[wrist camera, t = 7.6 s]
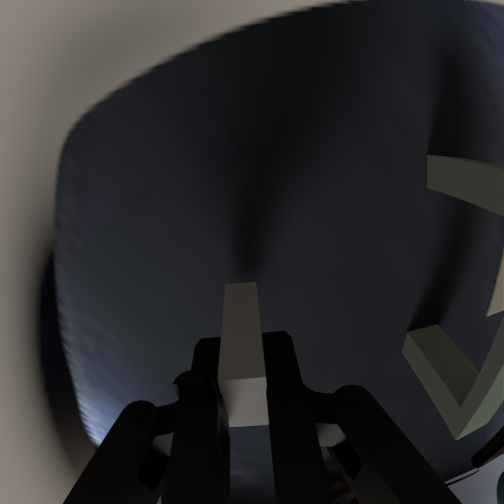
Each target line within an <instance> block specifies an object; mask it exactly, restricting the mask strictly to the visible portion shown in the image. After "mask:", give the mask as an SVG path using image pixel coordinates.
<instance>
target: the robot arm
mask: <svg viewBox="0 0 504 504" xmlns="http://www.w3.org/2000/svg"><path fill="white" fill-rule="evenodd" d="M173 385H174V388H175V390H176V393H177V395H178V398H179V400H178V401H176V402H175V403H172V404H168V405H164V406H160V407H155V405H154V404H153V403H151V402H149V401H143V400H139V401H134V402H132V403H130V404H128V405H127V406H126V407H125V408H124V409H123V411H122V412H121V414H120V415H119V417H118V418H117V420H116V421H115V423H114V424H113V426H112V427H111V429H110V430H109V432H108V434H107V435H106V437H105V438H104V440H103V441H102V443H101V444H100V446H99V447H98V449H97V450H96V452H95V454H94V455H93V457H92V458H91V460H90V461H89V463H88V464H87V466H86V468H85V469H84V471H83V472H82V474H81V476H80V477H79V479H78V480H77V482H76V484H75V485H74V487H73V488H72V490H71V491H70V493H69V495H68V496H67V498H66V499H65V501H64V503H63V504H157V502H158V500H159V498H160V495H161V493H162V491H163V489H164V495H163V502H162V504H230V436H229V433H228V422H229V426H230V427H241V426H256V425H268V424H269V429H270V440H271V451H272V461H273V472H274V482H275V493H276V503H277V504H333V502H332V497H331V492H330V488H329V483H328V479H327V474H326V470H325V465H324V461H323V456H322V452H321V447H320V446H326V448H327V450H328V452H329V453H330V455H331V457H332V458H333V460H334V462H335V463H336V465H337V467H338V468H339V470H340V472H341V473H342V475H343V477H344V478H345V480H346V482H347V483H348V485H349V486H350V488H351V490H352V491H353V493H354V495H355V496H356V498H357V499H358V501H359V503H360V504H462V503H461V502H460V501H459V500H458V498H457V497H456V496H455V495H454V494H453V492H452V491H451V490H450V489H449V488H448V486H447V485H446V484H445V483H444V481H443V480H442V479H441V478H440V477H439V475H438V474H437V473H436V472H435V471H434V469H433V468H432V467H431V466H430V465H429V463H428V462H427V461H426V460H425V459H424V457H423V456H422V455H421V454H420V453H419V451H418V450H417V449H416V448H415V447H414V445H413V444H412V443H411V442H410V440H409V439H408V438H407V437H406V436H405V434H404V433H403V432H402V431H401V430H400V428H399V427H398V426H397V425H396V424H395V422H394V421H393V420H392V419H391V418H390V416H389V415H388V414H387V413H386V412H385V410H384V409H383V408H382V407H381V406H380V404H379V403H378V402H377V401H376V400H375V398H374V397H373V396H372V395H371V394H370V392H369V391H367V390H366V389H365V388H364V387H361V386H358V385H346V386H342V387H341V388H339V389H337V390H336V391H335V392H334V394H328V393H319V392H315V391H313V390H310V389H309V388H307V387H306V386H305V385H304V383H303V381H302V379H301V375H300V370H299V366H298V362H297V358H296V355H295V350H294V346H293V341H292V337H291V336H290V335H289V334H288V333H287V332H286V331H276V332H266V333H261V325H260V316H259V306H258V297H257V287H256V282H247V283H236V284H226V290H225V300H224V311H223V322H222V333H221V337H215V338H201V340H200V341H199V342H198V343H197V345H196V346H195V351H194V356H193V361H192V366H191V370H189V371H186V372H184V373H182V374H180V375H179V376H178V377H177V378H176V379H175V381H174V383H173ZM164 487H165V488H164ZM497 503H498V504H504V472H503V473H502V474H501V476H500V478H499V480H498V484H497Z"/></svg>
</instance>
